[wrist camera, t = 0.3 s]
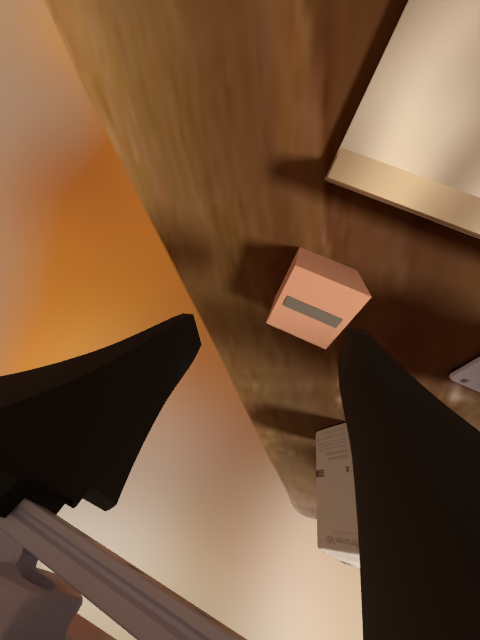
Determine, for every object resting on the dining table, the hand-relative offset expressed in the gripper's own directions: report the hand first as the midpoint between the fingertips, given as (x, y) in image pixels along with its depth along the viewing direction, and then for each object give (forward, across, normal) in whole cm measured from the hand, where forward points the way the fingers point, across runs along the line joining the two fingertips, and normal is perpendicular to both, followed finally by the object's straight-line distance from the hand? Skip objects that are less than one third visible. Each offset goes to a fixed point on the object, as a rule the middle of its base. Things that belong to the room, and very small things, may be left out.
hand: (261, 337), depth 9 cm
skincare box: (+10, -8, +25) cm, 28 cm away
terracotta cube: (+10, -2, +1) cm, 11 cm away
